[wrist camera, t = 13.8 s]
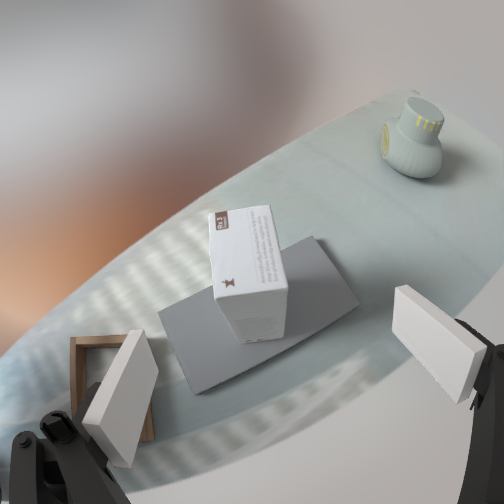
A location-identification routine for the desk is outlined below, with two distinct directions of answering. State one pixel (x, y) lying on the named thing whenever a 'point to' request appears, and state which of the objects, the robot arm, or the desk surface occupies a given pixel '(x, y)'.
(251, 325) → the skincare box
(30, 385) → the desk surface
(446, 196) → the desk surface
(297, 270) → the slate board
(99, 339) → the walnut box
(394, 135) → the air freshener
